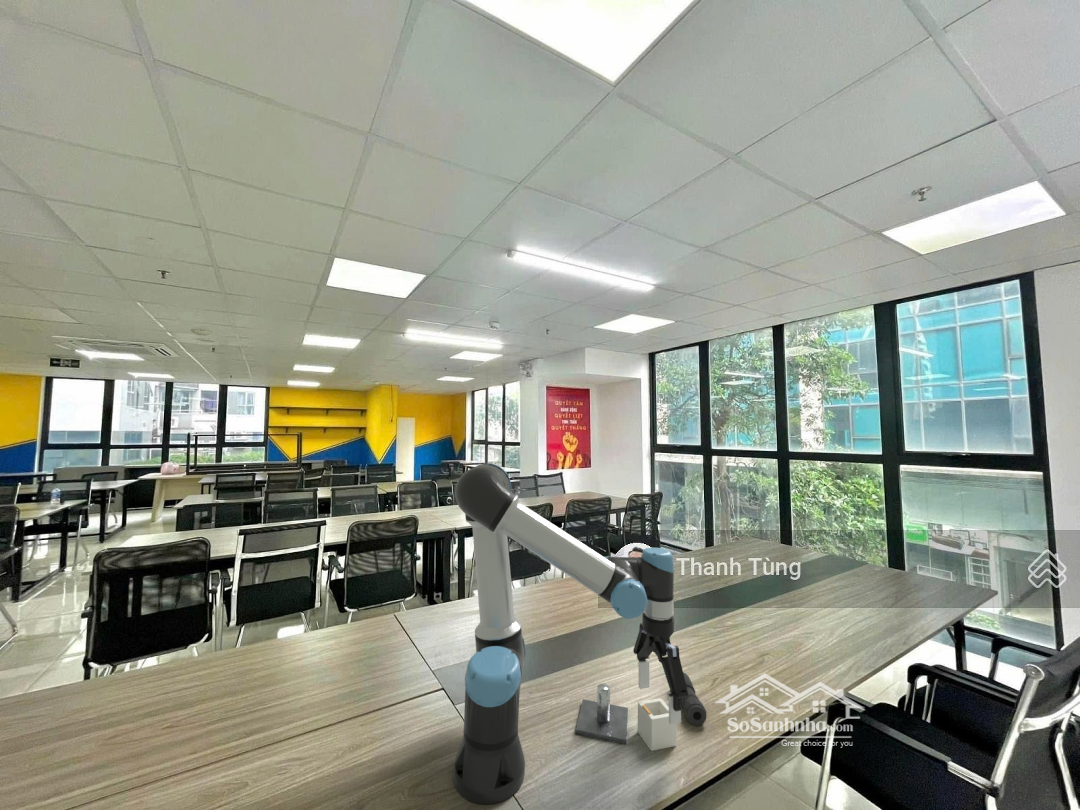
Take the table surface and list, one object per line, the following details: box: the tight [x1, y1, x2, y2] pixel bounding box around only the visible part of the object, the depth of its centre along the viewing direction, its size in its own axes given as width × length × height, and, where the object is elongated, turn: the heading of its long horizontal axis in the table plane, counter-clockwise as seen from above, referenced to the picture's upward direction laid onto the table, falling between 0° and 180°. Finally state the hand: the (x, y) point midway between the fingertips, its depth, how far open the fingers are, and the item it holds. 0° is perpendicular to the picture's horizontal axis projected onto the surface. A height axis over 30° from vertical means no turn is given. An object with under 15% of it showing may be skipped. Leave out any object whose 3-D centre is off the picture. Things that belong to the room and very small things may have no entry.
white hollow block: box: [636, 697, 677, 752], centre depth 101 cm, size 6×6×7 cm
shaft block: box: [575, 683, 629, 745], centre depth 106 cm, size 12×12×8 cm
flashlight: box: [681, 671, 707, 726], centre depth 113 cm, size 15×5×5 cm, turn 178°
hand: (658, 704), depth 101 cm, fingers open, 13 cm apart
